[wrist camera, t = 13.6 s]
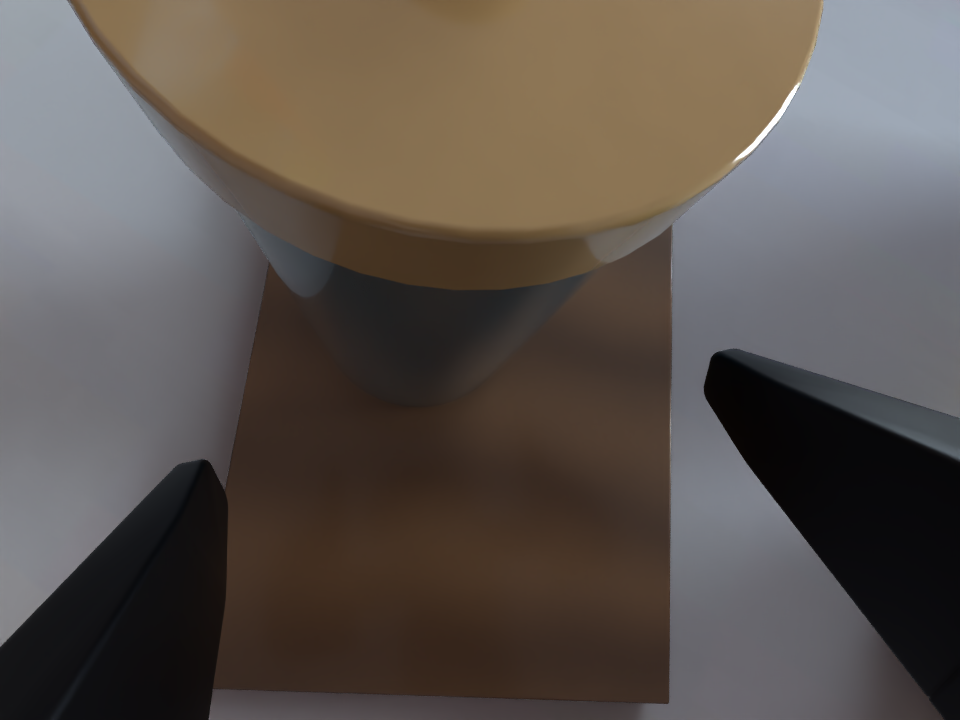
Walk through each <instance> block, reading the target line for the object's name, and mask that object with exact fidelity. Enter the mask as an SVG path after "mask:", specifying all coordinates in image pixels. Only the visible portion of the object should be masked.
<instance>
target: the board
mask: <svg viewBox="0 0 960 720" xmlns="http://www.w3.org/2000/svg"><path fill="white" fill-rule="evenodd" d="M672 239H673V224H672V225H671V226H669V227H668V228H667V229H666V230H665V231H663V232H662V233H661V234H660V235H659V236H657V237H656V238H654V239H652V240H651V241H649V242H647V243H646V244H644V245H643V246H641V247H639V248H638V249H636V250H635V251H633V252H631V253H630V254H628V255H627V256H624V257H622V258H620V259H618V260H615V261H613V262H611V263H608V264H606V265H604V266H603V267H602V268H601V269H600V270H599V271H598V272H597V273H596V274H595V275H594V276H593V277H592V278H591V279H590V280H589V281H588V282H587V283H586V284H585V285H584V286H583V287H582V288H581V289H580V290H579V291H578V292H577V293H576V294H575V295H574V296H573V297H572V298H571V299H570V300H569V301H568V302H567V303H565V304H564V305H563V306H562V307H561V308H560V309H559V310H558V311H557V312H556V313H555V314H554V315H553V316H552V317H551V318H550V319H549V320H548V321H547V322H546V323H545V324H544V325H543V326H542V327H541V328H540V329H539V330H538V331H537V332H536V333H535V334H534V335H533V336H532V337H531V338H530V339H529V340H528V341H527V342H526V343H525V344H524V345H523V346H522V347H521V348H520V349H519V350H518V351H516V352H515V353H514V354H513V355H512V356H511V357H510V358H509V359H508V360H507V361H506V362H505V363H504V364H503V365H502V366H501V367H500V368H499V369H498V370H497V371H496V372H495V373H494V374H493V375H492V376H491V377H490V378H489V379H488V380H487V381H486V382H484V383H483V384H482V385H481V386H480V387H479V388H477V389H476V390H474V391H473V392H471V393H470V394H468V395H466V396H464V397H462V398H460V399H458V400H456V401H453V402H449V403H446V404H443V405H438V406H432V407H406V406H400V405H395V404H391V403H388V402H385V401H382V400H379V399H377V398H375V397H373V396H371V395H369V394H367V393H366V392H364V391H363V390H361V389H360V388H358V387H357V386H355V385H354V384H353V383H352V382H351V381H350V380H349V379H348V378H347V377H345V375H344V374H343V373H342V372H341V371H340V369H339V368H338V367H337V366H336V364H335V363H334V361H333V360H332V358H331V356H330V355H329V353H328V352H327V350H326V349H325V347H324V346H323V344H322V343H321V341H320V339H319V338H318V336H317V335H316V333H315V332H314V330H313V329H312V327H311V326H310V324H309V322H308V321H307V319H306V318H305V316H304V315H303V313H302V312H301V310H300V308H299V307H298V305H297V304H296V302H295V301H294V299H293V298H292V296H291V295H290V293H289V291H288V290H287V288H286V287H285V285H284V284H283V282H282V281H281V279H280V278H279V276H278V274H277V273H276V271H275V270H274V268H273V267H272V265H271V264H270V262H269V266H268V271H267V276H266V281H265V286H264V291H263V296H262V302H261V307H260V312H259V317H258V322H257V327H256V332H255V337H254V343H253V348H252V353H251V358H250V363H249V368H248V373H247V379H246V384H245V389H244V394H243V399H242V404H241V409H240V415H239V420H238V425H237V430H236V435H235V440H234V445H233V450H232V456H231V461H230V466H229V471H228V476H227V481H226V486H225V493H226V496H227V501H228V543H227V584H226V600H225V609H224V617H223V624H222V630H221V637H220V644H219V651H218V657H217V664H216V671H215V678H214V684H213V689H232V690H263V691H293V692H323V693H353V694H384V695H414V696H444V697H475V698H505V699H535V700H566V701H596V702H626V703H656V704H668V703H669V658H670V518H671V379H672Z"/></svg>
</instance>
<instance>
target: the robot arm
mask: <svg viewBox="0 0 960 720" xmlns="http://www.w3.org/2000/svg"><path fill="white" fill-rule="evenodd" d="M704 395H705V397H706V400H707V401H708V403H709V404H710V406H711V408H712V409H713V411H714V412H715V414H716V416H717V417H718V419H719V420H720V422H721V424H722V425H723V427H724V428H725V430H726V432H727V433H728V435H729V436H730V438H731V440H732V441H733V443H734V444H735V446H736V448H737V449H738V451H739V452H740V454H741V455H742V457H743V458H744V460H745V461H746V463H747V464H748V466H749V467H750V468H751V470H752V471H753V472H754V474H755V475H756V476H757V478H758V479H759V480H760V481H761V483H762V484H763V485H764V487H765V488H766V489H767V491H768V492H769V493H770V494H771V496H772V497H773V498H774V500H775V501H776V502H777V503H778V505H779V506H780V507H781V509H782V510H783V511H784V512H785V514H786V515H787V516H788V518H789V519H790V520H791V521H792V523H793V524H794V525H795V527H796V528H797V529H798V531H799V532H800V533H801V534H802V536H803V537H804V538H805V540H806V541H807V542H808V543H809V545H810V546H811V547H812V549H813V550H814V551H815V552H816V554H817V555H818V556H819V558H820V559H821V560H822V561H823V563H824V564H825V565H826V567H827V568H828V569H829V571H830V572H831V573H832V574H833V576H834V577H835V578H836V580H837V581H838V582H839V583H840V585H841V586H842V587H843V589H844V590H845V591H846V592H847V594H848V595H849V596H850V598H851V599H852V600H853V601H854V603H855V604H856V605H857V607H858V608H859V609H860V611H861V612H862V613H863V614H864V616H865V617H866V618H867V620H868V621H869V622H870V623H871V625H872V626H873V627H874V629H875V630H876V631H877V632H878V634H879V635H880V636H881V638H882V639H883V640H884V641H885V643H886V644H887V645H888V647H889V648H890V649H891V650H892V652H893V653H894V654H895V656H896V657H897V658H898V660H899V661H900V662H901V663H902V665H903V666H904V667H905V669H906V670H907V671H908V672H909V674H910V675H911V676H912V678H913V679H914V680H915V681H916V683H917V684H918V685H919V687H920V688H921V689H922V690H923V692H924V693H925V694H926V695H927V696H928V697H929V700H930V701H931V703H932V704H933V705H934V707H935V708H936V709H937V710H938V712H939V713H940V714H941V716H942V717H943V718H944V719H945V720H960V418H958V417H954V416H951V415H948V414H945V413H942V412H938V411H935V410H932V409H929V408H926V407H922V406H919V405H916V404H913V403H910V402H906V401H903V400H900V399H897V398H894V397H890V396H887V395H884V394H881V393H877V392H874V391H871V390H868V389H865V388H861V387H858V386H855V385H852V384H849V383H845V382H842V381H839V380H836V379H833V378H829V377H826V376H823V375H820V374H817V373H813V372H810V371H807V370H804V369H801V368H797V367H794V366H791V365H788V364H784V363H781V362H778V361H775V360H772V359H768V358H765V357H762V356H759V355H756V354H752V353H749V352H746V351H743V350H740V349H728V350H723V351H719V352H716V353H714V355H713V356H712V357H711V360H710V364H709V368H708V372H707V375H706V379H705V383H704ZM227 543H228V501H227V496H226V493H225V491H224V489H223V487H222V485H221V483H220V481H219V479H218V477H217V475H216V473H215V471H214V469H213V467H212V465H211V463H210V462H209V461H208V460H205V459H200V460H195V461H191V462H186V463H182V464H179V465H177V466H176V467H175V468H173V470H172V471H171V472H170V473H169V474H168V475H167V476H166V477H165V478H164V479H163V480H162V481H161V482H160V483H159V484H158V485H157V486H156V487H155V488H154V489H153V490H152V491H151V492H150V493H149V494H148V495H147V496H146V497H145V498H144V499H143V500H142V501H141V503H140V504H139V505H138V506H137V507H136V508H135V509H134V510H133V511H132V512H131V513H130V514H129V515H128V516H127V517H126V518H125V519H124V520H123V521H122V522H121V523H120V524H119V525H118V526H117V527H116V528H115V529H114V530H113V531H112V532H111V533H110V534H109V536H108V537H107V538H106V539H105V540H104V541H103V542H102V543H101V544H100V545H99V546H98V547H97V548H96V549H95V550H94V551H93V552H92V553H91V554H90V555H89V556H88V557H87V558H86V559H85V560H84V561H83V562H82V563H81V564H80V565H79V566H78V568H77V569H76V570H75V571H74V572H73V573H72V574H71V575H70V576H69V577H68V578H67V579H66V580H65V581H64V582H63V583H62V584H61V585H60V586H59V587H58V588H57V589H56V590H55V591H54V592H53V593H52V594H51V595H50V596H49V597H48V598H47V599H46V601H45V602H44V603H43V604H42V605H41V606H40V607H39V608H38V609H37V610H36V611H35V612H34V613H33V614H32V615H31V616H30V617H29V618H28V619H27V620H26V621H25V622H24V623H23V624H22V625H21V626H20V627H19V628H18V629H17V630H16V631H15V632H14V634H13V635H12V636H11V637H10V638H9V639H8V640H7V641H6V642H5V643H4V644H3V645H2V646H1V647H0V720H208V718H209V712H210V705H211V698H212V691H213V684H214V678H215V671H216V664H217V657H218V651H219V644H220V637H221V630H222V624H223V617H224V609H225V600H226V584H227Z"/></svg>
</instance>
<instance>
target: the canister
mask: <svg viewBox="0 0 960 720" xmlns="http://www.w3.org/2000/svg"><path fill="white" fill-rule="evenodd" d="M67 1H68V3H69V4H70V6H71V8H72V9H73V11H74V12H75V14H76V16H77V17H78V19H79V20H80V22H81V24H82V25H83V27H84V29H85V30H86V32H87V33H88V35H89V37H90V38H91V40H92V41H93V43H94V45H95V46H96V47H97V49H98V50H99V51H100V53H101V54H102V56H103V57H104V58H105V60H106V61H107V62H108V64H109V65H110V67H111V68H112V69H113V71H114V72H115V73H116V75H117V76H118V78H119V79H120V80H121V82H122V83H123V84H124V86H125V87H126V89H127V90H128V91H129V93H130V94H131V95H132V97H133V98H134V100H135V101H136V102H137V104H138V105H139V106H140V108H141V109H142V111H143V112H144V113H145V115H146V116H147V117H148V119H149V120H150V122H151V123H152V124H153V126H154V127H155V128H156V130H157V131H158V132H159V134H160V135H161V136H162V137H163V139H164V140H165V141H166V142H167V143H168V145H169V146H170V147H171V148H172V149H173V151H174V152H175V153H176V154H177V155H178V157H179V158H180V159H181V160H182V161H183V162H184V164H185V165H186V166H187V167H188V168H189V170H190V171H191V172H193V173H194V174H195V175H196V176H197V177H198V178H199V179H200V180H201V181H202V182H204V183H205V184H206V185H207V186H208V187H209V188H210V189H211V190H212V191H213V192H215V193H216V194H217V195H218V196H219V197H220V198H221V199H222V200H223V201H224V202H226V203H227V204H228V205H230V206H231V207H233V208H234V209H235V210H236V211H237V213H238V214H239V216H240V217H241V219H242V220H243V222H244V223H245V225H246V226H247V228H248V230H249V231H250V233H251V234H252V236H253V237H254V239H255V240H256V242H257V243H258V245H259V247H260V248H261V250H262V251H263V253H264V254H265V256H266V257H267V259H268V261H269V262H270V264H271V265H272V267H273V268H274V270H275V271H276V273H277V274H278V276H279V278H280V279H281V281H282V282H283V284H284V285H285V287H286V288H287V290H288V291H289V293H290V295H291V296H292V298H293V299H294V301H295V302H296V304H297V305H298V307H299V308H300V310H301V312H302V313H303V315H304V316H305V318H306V319H307V321H308V322H309V324H310V326H311V327H312V329H313V330H314V332H315V333H316V335H317V336H318V338H319V339H320V341H321V343H322V344H323V346H324V347H325V349H326V350H327V352H328V353H329V355H330V356H331V358H332V360H333V361H334V363H335V364H336V366H337V367H338V368H339V369H340V371H341V372H342V373H343V374H344V375H345V377H347V378H348V379H349V380H350V381H351V382H352V383H353V384H354V385H355V386H357V387H358V388H360V389H361V390H363V391H364V392H366V393H367V394H369V395H371V396H373V397H375V398H377V399H379V400H382V401H385V402H388V403H391V404H395V405H400V406H406V407H432V406H438V405H443V404H446V403H449V402H453V401H456V400H458V399H460V398H462V397H464V396H466V395H468V394H470V393H471V392H473V391H474V390H476V389H477V388H479V387H480V386H481V385H482V384H483V383H484V382H486V381H487V380H488V379H489V378H490V377H491V376H492V375H493V374H494V373H495V372H496V371H497V370H498V369H499V368H500V367H501V366H502V365H503V364H504V363H505V362H506V361H507V360H508V359H509V358H510V357H511V356H512V355H513V354H514V353H515V352H516V351H518V350H519V349H520V348H521V347H522V346H523V345H524V344H525V343H526V342H527V341H528V340H529V339H530V338H531V337H532V336H533V335H534V334H535V333H536V332H537V331H538V330H539V329H540V328H541V327H542V326H543V325H544V324H545V323H546V322H547V321H548V320H549V319H550V318H551V317H552V316H553V315H554V314H555V313H556V312H557V311H558V310H559V309H560V308H561V307H562V306H563V305H564V304H565V303H567V302H568V301H569V300H570V299H571V298H572V297H573V296H574V295H575V294H576V293H577V292H578V291H579V290H580V289H581V288H582V287H583V286H584V285H585V284H586V283H587V282H588V281H589V280H590V279H591V278H592V277H593V276H594V275H595V274H596V273H597V272H598V271H599V270H600V269H601V268H602V267H603V266H604V265H606V264H608V263H611V262H613V261H615V260H618V259H620V258H622V257H624V256H627V255H628V254H630V253H631V252H633V251H635V250H636V249H638V248H639V247H641V246H643V245H644V244H646V243H647V242H649V241H651V240H652V239H654V238H656V237H657V236H659V235H660V234H661V233H662V232H663V231H665V230H666V229H667V228H668V227H669V226H671V225H672V224H673V223H674V222H675V221H676V220H678V219H679V218H680V217H681V216H682V215H683V214H685V213H686V212H687V211H688V210H689V209H690V208H691V207H693V206H694V205H695V204H696V203H697V202H698V201H699V200H700V199H702V198H703V197H704V196H705V195H706V194H707V193H708V192H710V191H711V190H712V189H713V188H714V187H715V186H716V185H717V184H719V183H720V182H721V181H722V180H723V179H724V178H725V177H726V176H728V175H729V174H730V173H731V172H732V171H733V170H734V169H735V168H737V167H738V166H739V165H740V164H741V163H742V162H743V161H745V160H746V159H747V158H748V157H749V156H750V155H751V154H752V153H753V152H754V151H755V150H756V149H757V147H758V146H759V145H760V144H761V143H762V142H763V140H764V139H765V138H766V137H767V136H768V134H769V133H770V132H771V131H772V130H773V128H774V127H775V126H776V125H777V124H778V123H779V121H780V119H781V118H782V116H783V114H784V112H785V111H786V109H787V107H788V106H789V104H790V102H791V101H792V99H793V97H794V96H795V94H796V92H797V90H798V89H799V86H800V84H801V82H802V79H803V77H804V74H805V72H806V69H807V66H808V64H809V61H810V59H811V56H812V53H813V51H814V48H815V46H816V41H817V36H818V31H819V26H820V21H821V16H822V12H823V0H67Z"/></svg>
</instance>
